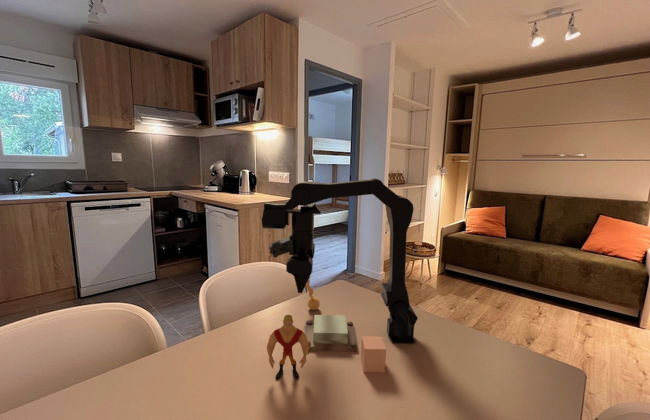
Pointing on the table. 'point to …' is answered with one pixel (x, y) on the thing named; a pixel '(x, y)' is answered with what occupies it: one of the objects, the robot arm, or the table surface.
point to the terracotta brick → (373, 354)
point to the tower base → (332, 346)
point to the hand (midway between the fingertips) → (301, 285)
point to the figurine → (312, 297)
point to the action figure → (287, 344)
